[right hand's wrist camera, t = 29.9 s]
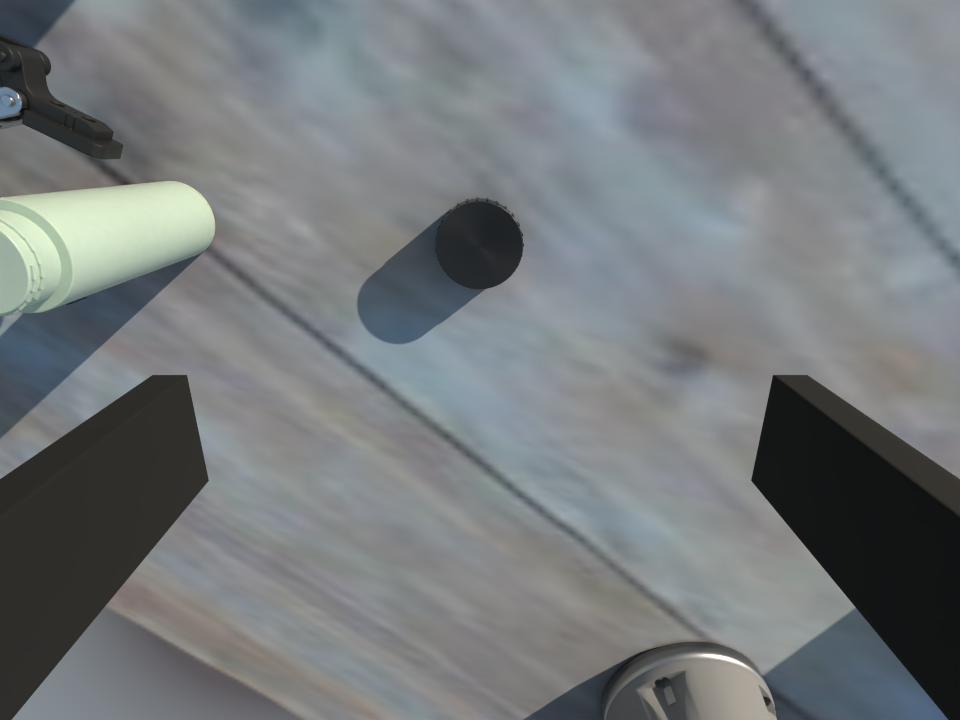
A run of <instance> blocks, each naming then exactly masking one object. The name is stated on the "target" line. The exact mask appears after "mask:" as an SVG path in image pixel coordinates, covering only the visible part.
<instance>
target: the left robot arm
mask: <svg viewBox="0 0 960 720" xmlns="http://www.w3.org/2000/svg"><path fill="white" fill-rule="evenodd" d="M50 70H51V64H50V61H49V59H48V57H47V56H46V55H45V54H44V53H43V52H41V51H39V50H36V49H34V48H32V47H30V46H27V45H25V44H23V43H20V42H18V41H16V40H13V39H11V38H9V37H6V36H4V35H2V34H0V81H1V87H0V129H4V128H9V127H13V126H18V125H22V124H24V125H26V126H28V127H30V128H32V129H34V130H37V131H39V132H41V133H43V134H45V135H47V136H49V137H51V138H53V139H55V140H58V141H60V142H62V143H64V144H66V145H68V146H70V147H72V148H74V149H76V150H79V151H81V152H83V153H85V154H87V155H89V156H92V157H95V158H98V159H120V157H121V153H122V149H123V145H122V144H121V143H119V142H117V141H115V140H113V139H112V136H113V131H112V130H111V129H110V128H109V127H108V126H107V125H106V124H105V123H103V122H101V121H99V120H97V119H95V118H93V117H91V116H89V115H86V114H84V113H82V112H80V111H78V110H76V109H74V108H72V107H70V106H68V105H66V104H64V103H62V102H60V101H58V100H57V99H55V98H54V97H53V96H52V95H51V93H50V92H49V90H48V87H47V83H46V77H45V76H46V75H48V74H49V73H50ZM85 298H87V296H86V297H83V298H81V299H78V300H75V301H72V302H70V303H67V304H72V303H74V302H77V301H79V300H82V299H85Z"/></svg>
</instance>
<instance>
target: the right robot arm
mask: <svg viewBox="0 0 960 720" xmlns="http://www.w3.org/2000/svg"><path fill="white" fill-rule="evenodd" d="M208 481H209V480H208V475H207V470H206V465H205V461H204V456H203V451H202V446H201V441H200V436H199V432H198V427H197V422H196V417H195V412H194V407H193V403H192V398H191V393H190V388H189V383H188V378H187V375H152V376H151V377H149V378H148V379H146V380H145V381H143V382H142V383H141V384H139V385H138V386H136V387H135V388H133V389H132V390H130V391H129V392H127V393H126V394H124V395H123V396H121V397H120V398H119V399H117V400H116V401H114V402H113V403H111V404H110V405H108V406H107V407H105V408H104V409H102V410H101V411H100V412H98V413H97V414H95V415H94V416H92V417H91V418H89V419H88V420H86V421H85V422H83V423H82V424H80V425H79V426H78V427H76V428H75V429H73V430H72V431H70V432H69V433H67V434H66V435H64V436H63V437H61V438H60V439H59V440H57V441H56V442H54V443H53V444H51V445H50V446H48V447H47V448H45V449H44V450H42V451H41V452H39V453H38V454H37V455H35V456H34V457H32V458H31V459H29V460H28V461H26V462H25V463H23V464H22V465H20V466H19V467H18V468H16V469H15V470H13V471H12V472H10V473H9V474H7V475H6V476H4V477H3V478H1V479H0V720H12V718H13V717H14V716H15V715H16V714H17V712H18V711H19V710H20V709H21V708H22V706H23V705H24V704H25V703H26V701H27V700H28V699H29V698H30V697H31V695H32V694H33V693H34V692H35V691H36V689H37V688H38V687H39V686H40V684H41V683H42V682H43V681H44V680H45V678H46V677H47V676H48V675H49V674H50V672H51V671H52V670H53V669H54V667H55V666H56V665H57V664H58V663H59V661H60V660H61V659H62V658H63V656H64V655H65V654H66V653H67V652H68V651H69V649H70V648H71V647H72V646H73V644H74V643H75V642H76V641H77V640H78V638H79V637H80V636H81V635H82V634H83V632H84V631H85V630H86V629H87V627H88V626H89V625H90V624H91V623H92V621H93V620H94V619H95V618H96V617H97V615H98V614H99V613H100V612H101V610H102V609H103V608H104V607H105V606H106V604H107V603H108V602H109V601H110V600H111V598H112V597H113V596H114V595H115V594H116V592H117V591H118V590H119V589H120V587H121V586H122V585H123V584H124V583H125V581H126V580H127V579H128V578H129V577H130V575H131V574H132V573H133V572H134V571H135V569H136V568H137V567H138V566H139V564H140V563H141V562H142V561H143V560H144V558H145V557H146V556H147V555H148V554H149V552H150V551H151V550H152V549H153V547H154V546H155V545H156V544H157V543H158V541H159V540H160V539H161V538H162V537H163V535H164V534H165V533H166V532H167V530H168V529H169V528H170V527H171V526H172V524H173V523H174V522H175V521H176V520H177V518H178V517H179V516H180V515H181V514H182V512H183V511H184V510H185V509H186V507H187V506H188V505H189V504H190V503H191V501H192V500H193V499H194V498H195V497H196V495H197V494H198V493H199V492H200V490H201V489H202V488H203V487H204V486H205V484H206V483H207V482H208ZM751 481H752V482H753V483H754V484H755V486H756V487H757V488H758V489H759V490H760V492H761V493H762V494H763V495H764V497H765V498H766V499H767V500H768V501H769V503H770V504H771V505H772V506H773V507H774V509H775V510H776V511H777V512H778V514H779V515H780V516H781V517H782V518H783V520H784V521H785V522H786V523H787V524H788V526H789V527H790V528H791V529H792V530H793V532H794V533H795V534H796V535H797V537H798V538H799V539H800V540H801V541H802V543H803V544H804V545H805V546H806V547H807V549H808V550H809V551H810V552H811V554H812V555H813V556H814V557H815V558H816V560H817V561H818V562H819V563H820V564H821V566H822V567H823V568H824V569H825V571H826V572H827V573H828V574H829V575H830V577H831V578H832V579H833V580H834V581H835V583H836V584H837V585H838V586H839V587H840V589H841V590H842V591H843V592H844V594H845V595H846V596H847V597H848V598H849V600H850V601H851V602H852V603H853V604H854V606H855V607H856V608H857V609H858V611H859V612H860V613H861V614H862V615H863V617H864V618H865V619H866V620H867V621H868V623H869V624H870V625H871V626H872V627H873V629H874V630H875V631H876V632H877V634H878V635H879V636H880V637H881V638H882V640H883V641H884V642H885V643H886V644H887V646H888V647H889V648H890V649H891V651H892V652H893V653H894V654H895V655H896V657H897V658H898V659H899V660H900V661H901V663H902V664H903V665H904V666H905V667H906V669H907V670H908V671H909V672H910V674H911V675H912V676H913V677H914V678H915V680H916V681H917V682H918V683H919V684H920V686H921V687H922V688H923V689H924V691H925V692H926V693H927V694H928V695H929V697H930V698H931V699H932V700H933V701H934V703H935V704H936V705H937V706H938V708H939V709H940V710H941V711H942V712H943V714H944V715H945V716H946V717H947V718H948V720H960V479H959V478H957V477H956V476H954V475H953V474H951V473H950V472H948V471H947V470H945V469H944V468H942V467H941V466H940V465H938V464H937V463H935V462H934V461H932V460H931V459H929V458H928V457H926V456H925V455H923V454H922V453H921V452H919V451H918V450H916V449H915V448H913V447H912V446H910V445H909V444H907V443H906V442H904V441H903V440H901V439H900V438H899V437H897V436H896V435H894V434H893V433H891V432H890V431H888V430H887V429H885V428H884V427H882V426H881V425H880V424H878V423H877V422H875V421H874V420H872V419H871V418H869V417H868V416H866V415H865V414H863V413H862V412H860V411H859V410H858V409H856V408H855V407H853V406H852V405H850V404H849V403H847V402H846V401H844V400H843V399H841V398H840V397H839V396H837V395H836V394H834V393H833V392H831V391H830V390H828V389H827V388H825V387H824V386H822V385H821V384H819V383H818V382H817V381H815V380H814V379H812V378H811V377H809V376H808V375H773V378H772V383H771V388H770V393H769V398H768V403H767V407H766V412H765V417H764V422H763V427H762V432H761V436H760V441H759V446H758V451H757V456H756V460H755V465H754V470H753V475H752V480H751ZM601 713H602V718H603V720H777V718H776V711H775V706H774V701H773V697H772V694H771V692H770V690H769V688H768V686H767V684H766V682H765V680H764V679H763V677H762V675H761V673H760V671H759V670H758V668H757V667H756V666H755V665H754V664H753V663H752V662H751V661H750V660H749V659H748V658H747V657H745V656H744V655H742V654H741V653H739V652H737V651H735V650H733V649H731V648H728V647H725V646H721V645H717V644H712V643H705V642H683V643H675V644H670V645H665V646H662V647H658V648H655V649H653V650H650V651H648V652H645V653H643V654H641V655H639V656H637V657H636V658H634V659H632V660H631V661H629V662H628V663H627V664H625V665H624V666H623V667H622V668H621V669H620V670H619V671H618V672H617V673H616V674H615V675H614V676H613V677H612V679H611V680H610V681H609V683H608V685H607V687H606V688H605V691H604V693H603V697H602V702H601Z"/></svg>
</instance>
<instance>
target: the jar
mask: <svg viewBox="0 0 960 720" xmlns="http://www.w3.org/2000/svg"><path fill="white" fill-rule="evenodd" d="M214 233H215V220H214V215H213V213H212V210H211V208H210V206H209V204H208V203H207V201H206V200H205V199H204V197H203V196H202V195H201V194H200V193H199V192H197V191H196V190H195V189H193V188H192V187H190V186H188V185H186V184H183V183H180V182H176V181H162V182H152V183H142V184H132V185H122V186H112V187H102V188H92V189H82V190H72V191H62V192H52V193H42V194H32V195H22V196H12V197H2V198H0V317H1V316H8V315H13V314H15V313H17V312H22V313H41V312H45V311H48V310H51V309H54V308H56V307H59V306H62V305H64V304H67V303H70V302H72V301H75V300H78V299H81V298H83V297H86V296H89V295H91V294H94V293H97V292H99V291H102V290H105V289H107V288H110V287H113V286H115V285H118V284H121V283H124V282H126V281H129V280H132V279H134V278H137V277H140V276H142V275H145V274H148V273H150V272H153V271H156V270H158V269H161V268H164V267H166V266H169V265H172V264H175V263H177V262H180V261H183V260H185V259H188V258H191V257H193V256H196V255H198V254H200V253H202V252H203V251H205V250H206V249H207V248H208V247H209V245H210V244H211V242H212V240H213V237H214Z"/></svg>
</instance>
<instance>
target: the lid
mask: <svg viewBox="0 0 960 720" xmlns="http://www.w3.org/2000/svg"><path fill="white" fill-rule="evenodd" d="M514 217H515V216H514V214H513V213H512V214H511V213H510V212H509V211H508V210H507V207H506V206H505V207H504V206H502V205H501V204H499V203H498V201H496V202H495V201H492V200H488V198H487V199H478V197H477V198H476V199H471V200H468V199H467V200H466V201H465V202H462V203H460V204H459V203H458V204H457V206H455V207H454V208H453V209H452V210H451V209H450V210H449V212H448V214H447V215H446V217H444V218H443V219H442V221H443V222H442V224H441V226H439V228H438V234H437V237H436V240H435V241H436V251H437V256H438V261H439V262H440V265H441V266H442V268H443V270H444V271H445V272H446V274H447V275H448V276H449V277H450V278H451V279H453V280H454V281H455V282H457V283H458V284H460V285H463V286H465V287H468V288H473V289H487V288H491V287H494V286H497V285H499V284H501V283H502V282H504V281H505V280H507V279H508V278H509V277H510V276H511V275H512V274H513V273H514V271H515V270H516V268H517V267H518V265H519V263H520V260H521V257H522V252H523V246H524V244H523V238H522V236H523V234H522V232H521V230H520V228H519V226H520V225H519V223H518V222H516V220H515V218H514Z"/></svg>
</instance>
